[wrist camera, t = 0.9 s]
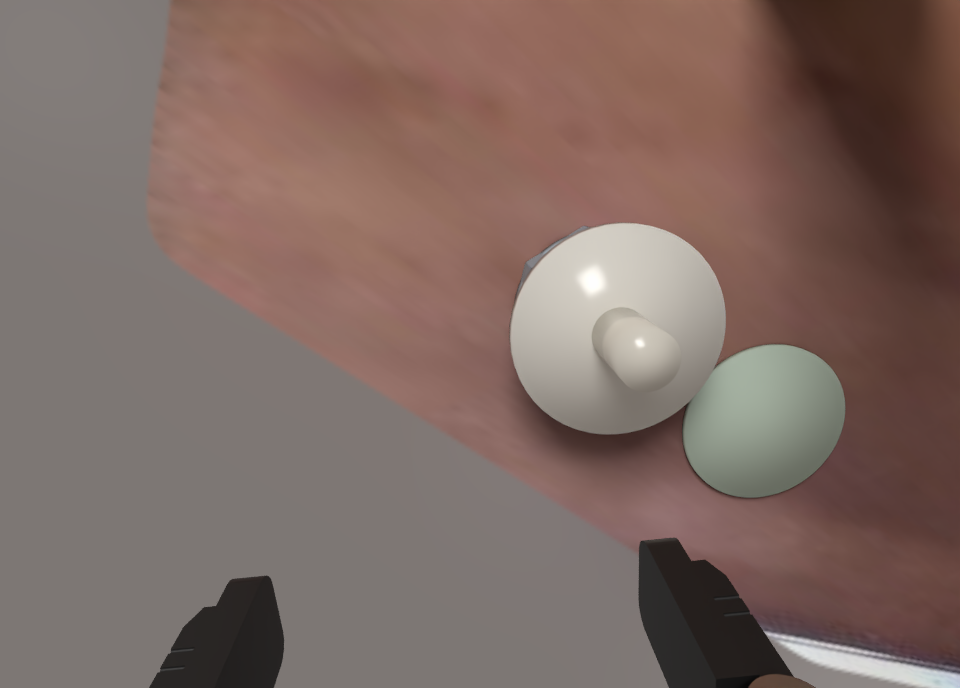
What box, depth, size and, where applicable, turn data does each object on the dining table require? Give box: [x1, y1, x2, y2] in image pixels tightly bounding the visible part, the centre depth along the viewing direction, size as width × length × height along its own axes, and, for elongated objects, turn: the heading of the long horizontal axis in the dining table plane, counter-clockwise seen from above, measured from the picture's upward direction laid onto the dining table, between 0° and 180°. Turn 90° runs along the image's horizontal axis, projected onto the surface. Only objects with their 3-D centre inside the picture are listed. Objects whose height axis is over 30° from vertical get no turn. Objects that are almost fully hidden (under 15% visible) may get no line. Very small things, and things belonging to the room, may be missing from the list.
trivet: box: [682, 344, 845, 498], centre depth 39 cm, size 11×11×1 cm
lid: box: [509, 222, 726, 434], centre depth 29 cm, size 12×12×5 cm
